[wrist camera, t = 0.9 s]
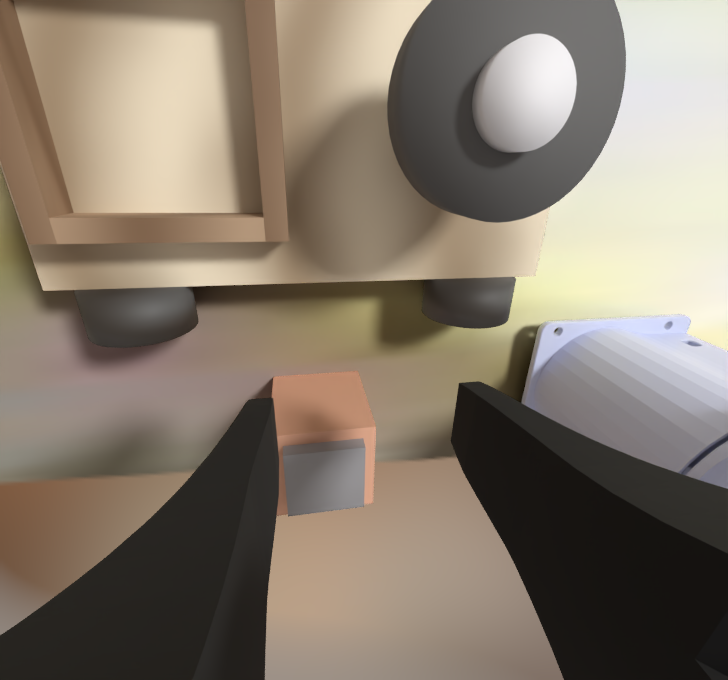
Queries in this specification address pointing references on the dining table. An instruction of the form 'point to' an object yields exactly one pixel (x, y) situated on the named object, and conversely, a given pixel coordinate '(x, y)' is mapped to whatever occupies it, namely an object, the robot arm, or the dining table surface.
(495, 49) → the spare wheel
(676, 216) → the dining table surface
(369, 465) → the orange rectangular block
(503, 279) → the chassis
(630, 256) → the dining table surface
